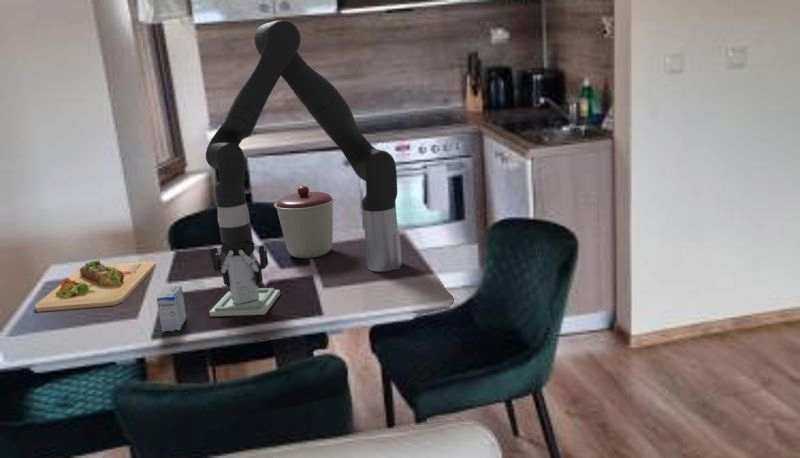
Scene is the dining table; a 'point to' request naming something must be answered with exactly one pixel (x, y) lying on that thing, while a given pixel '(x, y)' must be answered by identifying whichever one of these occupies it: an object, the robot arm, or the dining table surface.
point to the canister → (306, 222)
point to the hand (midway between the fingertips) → (243, 285)
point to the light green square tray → (246, 304)
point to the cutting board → (96, 286)
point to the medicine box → (171, 308)
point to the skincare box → (242, 280)
